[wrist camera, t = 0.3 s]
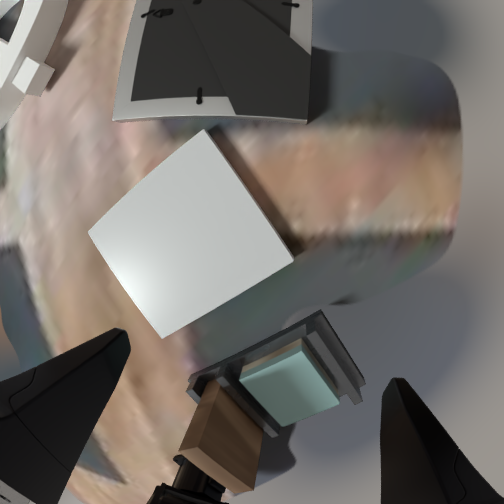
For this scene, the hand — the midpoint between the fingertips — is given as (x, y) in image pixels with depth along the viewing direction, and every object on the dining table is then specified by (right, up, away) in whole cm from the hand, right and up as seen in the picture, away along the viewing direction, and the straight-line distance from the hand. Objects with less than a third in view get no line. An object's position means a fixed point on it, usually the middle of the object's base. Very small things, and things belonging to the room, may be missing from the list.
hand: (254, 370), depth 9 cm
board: (-6, +4, +15) cm, 17 cm away
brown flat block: (-2, -11, +18) cm, 21 cm away
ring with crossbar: (-36, +33, +13) cm, 50 cm away
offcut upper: (+3, -8, +15) cm, 17 cm away
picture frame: (-3, +24, +11) cm, 27 cm away
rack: (+2, -9, +18) cm, 20 cm away
